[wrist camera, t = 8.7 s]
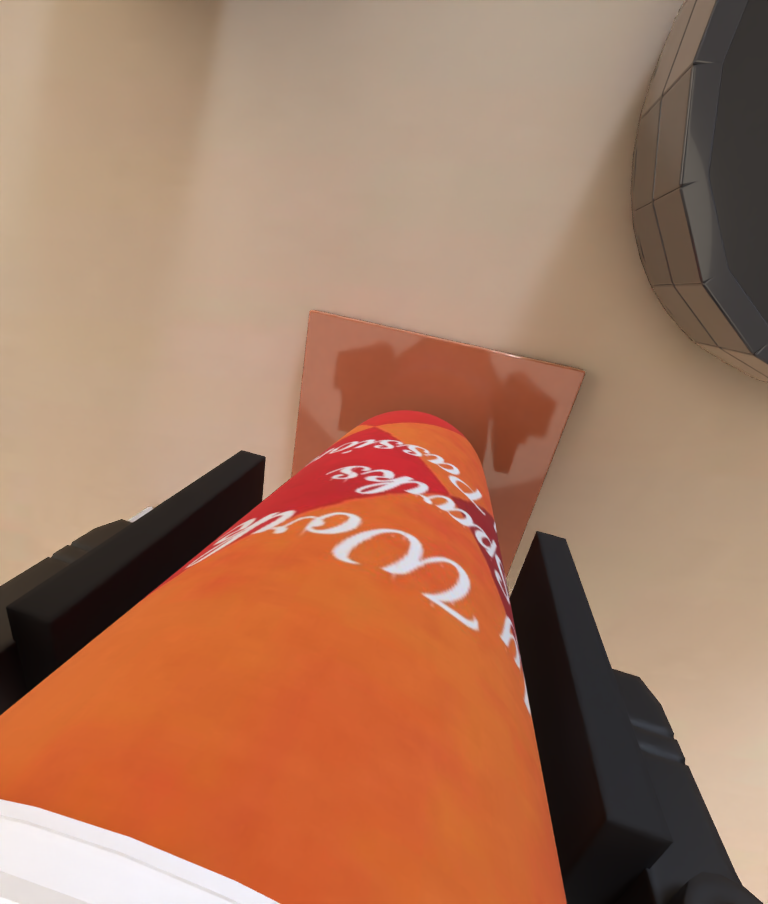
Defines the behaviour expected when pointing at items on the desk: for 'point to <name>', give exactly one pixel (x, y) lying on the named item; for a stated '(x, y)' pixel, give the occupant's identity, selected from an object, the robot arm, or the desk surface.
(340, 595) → the paper cup
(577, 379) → the coaster
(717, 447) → the desk surface
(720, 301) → the pan
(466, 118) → the desk surface
